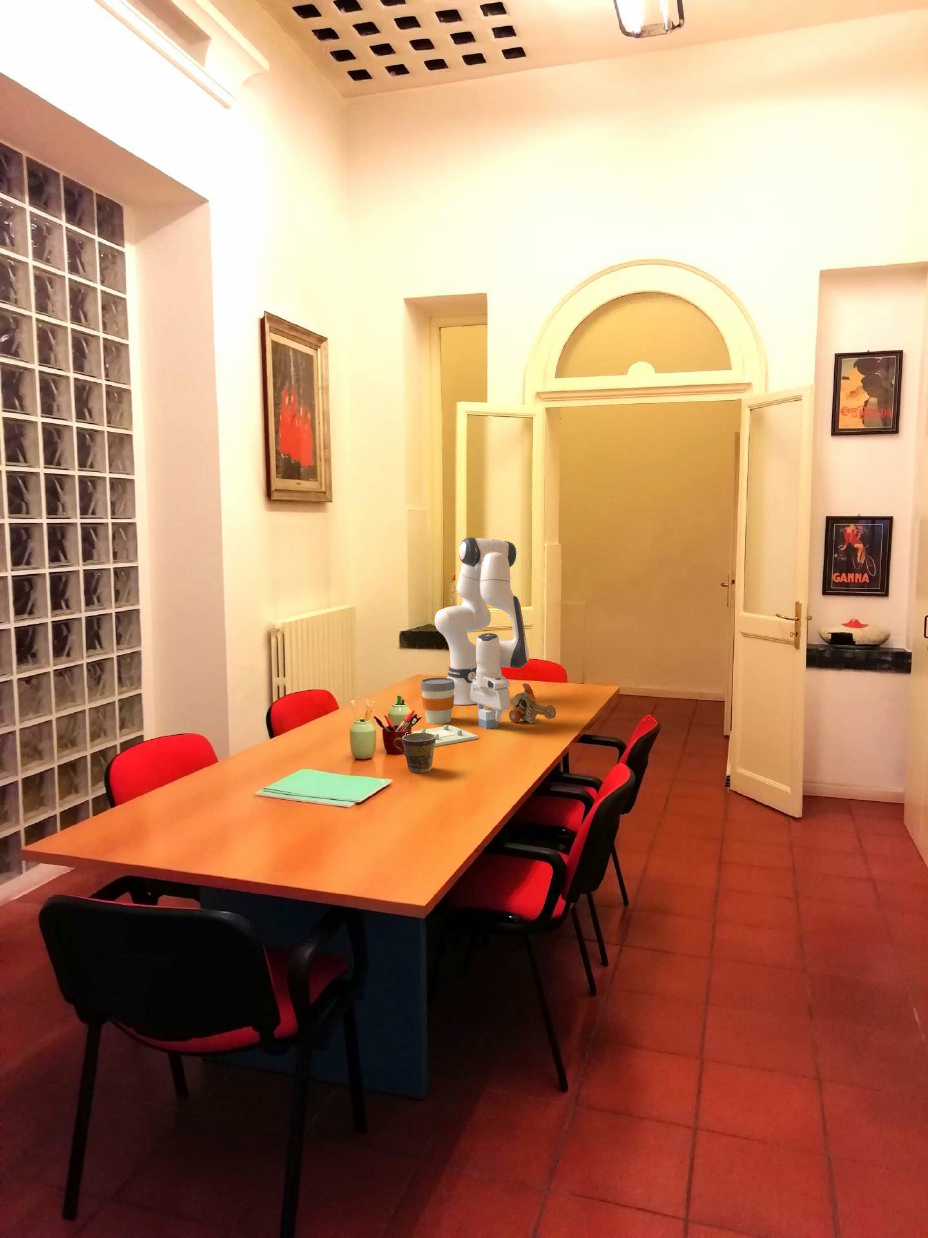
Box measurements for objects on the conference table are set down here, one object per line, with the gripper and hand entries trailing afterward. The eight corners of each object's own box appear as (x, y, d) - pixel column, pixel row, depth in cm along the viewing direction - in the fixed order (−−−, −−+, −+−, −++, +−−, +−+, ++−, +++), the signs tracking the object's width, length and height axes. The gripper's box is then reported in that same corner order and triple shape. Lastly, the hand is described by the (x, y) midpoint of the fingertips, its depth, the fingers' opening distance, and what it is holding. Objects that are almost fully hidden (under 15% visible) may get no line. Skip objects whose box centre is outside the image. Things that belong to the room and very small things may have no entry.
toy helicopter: (523, 717, 323) (522, 681, 321) (563, 727, 307) (563, 689, 305) (506, 721, 318) (506, 684, 316) (546, 731, 302) (546, 692, 300)
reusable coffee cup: (417, 724, 316) (416, 683, 314) (426, 716, 328) (425, 677, 326) (450, 725, 313) (449, 684, 311) (459, 717, 325) (458, 677, 323)
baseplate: (405, 735, 300) (405, 728, 300) (450, 728, 309) (450, 721, 309) (431, 747, 285) (431, 739, 285) (478, 738, 294) (477, 731, 294)
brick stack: (478, 726, 311) (478, 709, 311) (490, 724, 314) (490, 708, 313) (486, 729, 307) (485, 712, 306) (498, 727, 310) (497, 710, 309)
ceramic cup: (440, 766, 263) (440, 733, 262) (430, 775, 254) (429, 742, 253) (400, 763, 267) (399, 731, 266) (388, 773, 257) (387, 739, 256)
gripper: (465, 676, 316) (466, 714, 317) (497, 685, 298) (498, 724, 300) (480, 674, 319) (481, 712, 320) (512, 682, 302) (513, 722, 303)
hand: (489, 718), depth 310 cm, fingers open, 8 cm apart
